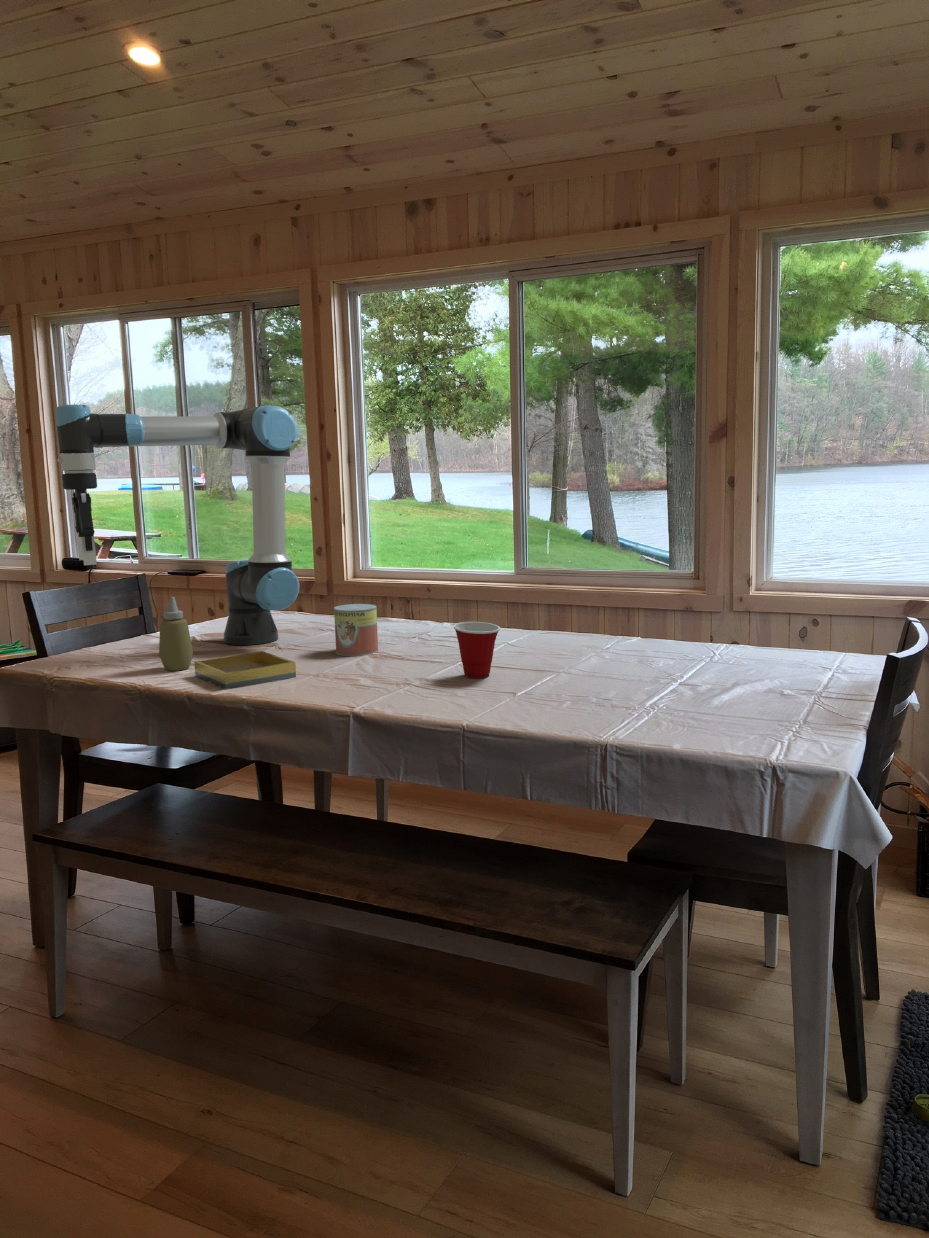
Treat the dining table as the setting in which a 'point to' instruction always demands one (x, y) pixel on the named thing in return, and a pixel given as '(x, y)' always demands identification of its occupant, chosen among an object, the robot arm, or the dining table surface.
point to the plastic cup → (476, 647)
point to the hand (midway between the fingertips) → (87, 562)
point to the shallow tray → (244, 669)
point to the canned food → (356, 629)
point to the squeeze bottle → (174, 639)
